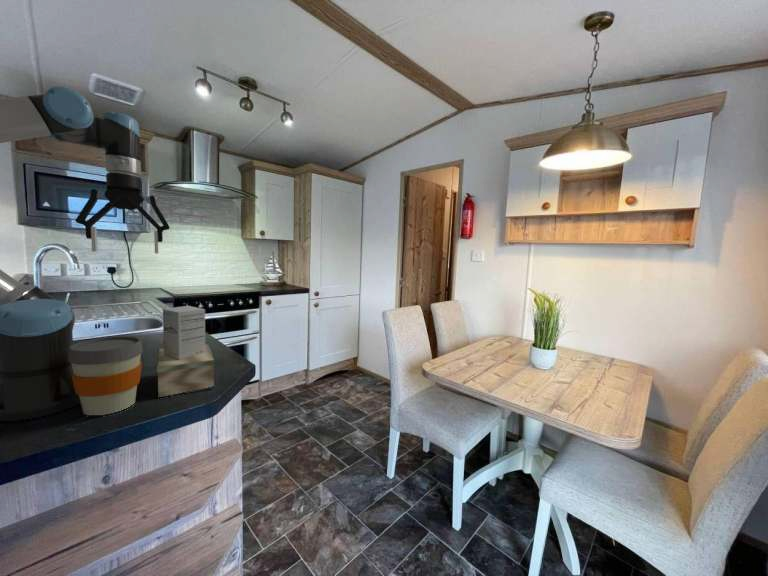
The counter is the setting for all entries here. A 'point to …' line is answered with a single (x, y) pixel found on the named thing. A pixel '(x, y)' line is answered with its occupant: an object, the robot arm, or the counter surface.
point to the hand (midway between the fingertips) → (127, 252)
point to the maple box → (184, 373)
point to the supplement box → (184, 331)
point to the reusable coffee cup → (106, 373)
